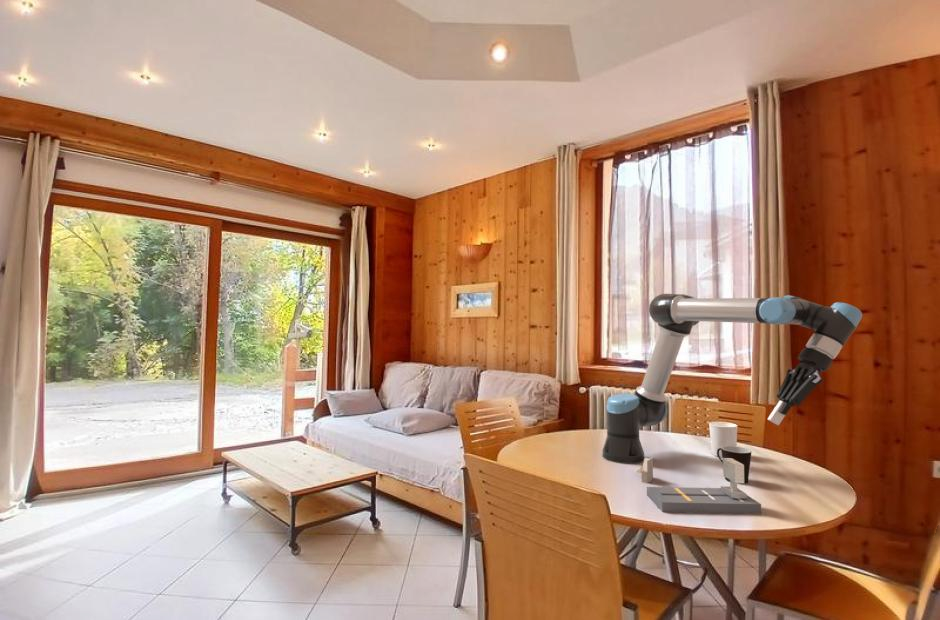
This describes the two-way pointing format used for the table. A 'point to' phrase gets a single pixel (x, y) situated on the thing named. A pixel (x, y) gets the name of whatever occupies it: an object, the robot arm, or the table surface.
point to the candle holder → (722, 436)
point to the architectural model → (647, 470)
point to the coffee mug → (737, 458)
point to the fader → (733, 478)
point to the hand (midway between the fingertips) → (772, 422)
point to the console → (700, 500)
